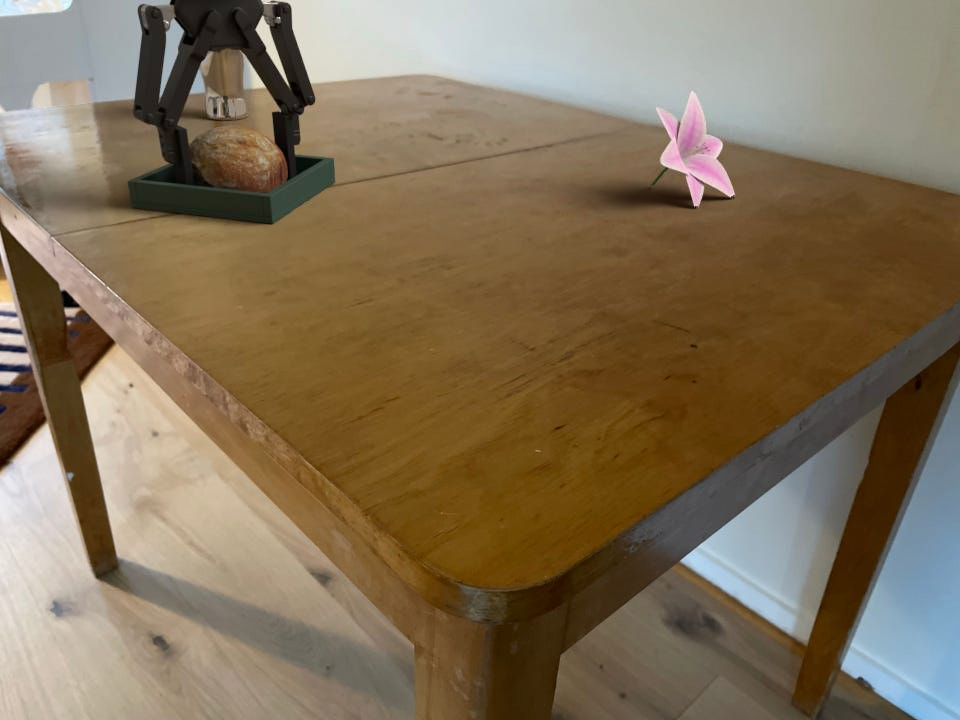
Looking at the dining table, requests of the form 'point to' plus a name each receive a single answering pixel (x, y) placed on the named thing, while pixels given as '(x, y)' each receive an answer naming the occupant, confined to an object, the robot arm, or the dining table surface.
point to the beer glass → (224, 85)
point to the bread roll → (237, 160)
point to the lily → (693, 151)
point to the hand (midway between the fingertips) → (239, 186)
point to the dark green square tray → (232, 193)
